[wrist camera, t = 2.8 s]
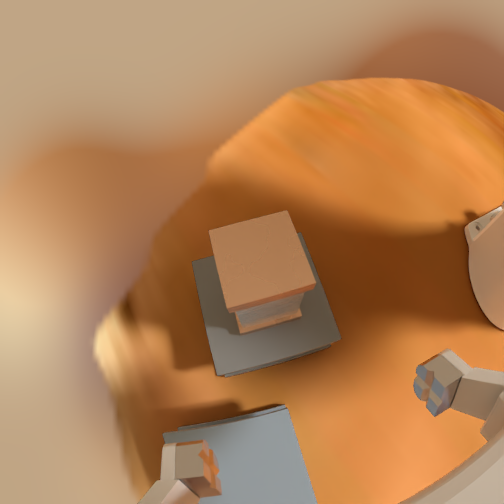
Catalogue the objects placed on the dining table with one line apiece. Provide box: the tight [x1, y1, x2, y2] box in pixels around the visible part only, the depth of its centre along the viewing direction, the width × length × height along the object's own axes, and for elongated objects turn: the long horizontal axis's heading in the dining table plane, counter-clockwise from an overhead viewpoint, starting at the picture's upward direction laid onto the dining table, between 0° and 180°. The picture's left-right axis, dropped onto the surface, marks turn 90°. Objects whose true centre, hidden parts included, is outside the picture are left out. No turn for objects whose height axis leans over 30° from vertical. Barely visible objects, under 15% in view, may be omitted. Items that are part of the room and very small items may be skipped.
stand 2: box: [163, 404, 317, 504], centre depth 18 cm, size 10×10×5 cm
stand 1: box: [192, 232, 341, 377], centre depth 25 cm, size 10×10×5 cm
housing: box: [209, 210, 316, 336], centre depth 19 cm, size 5×5×8 cm
